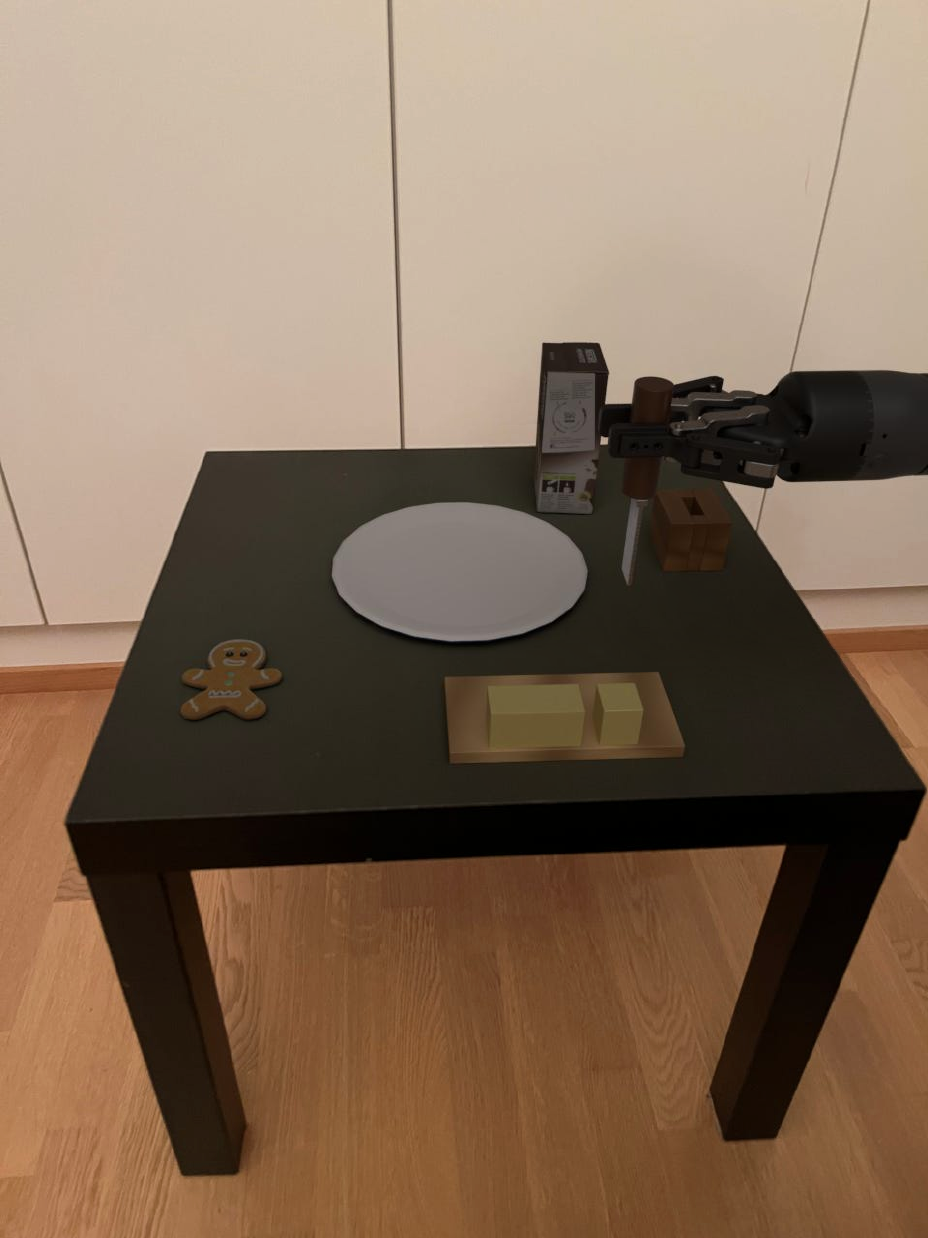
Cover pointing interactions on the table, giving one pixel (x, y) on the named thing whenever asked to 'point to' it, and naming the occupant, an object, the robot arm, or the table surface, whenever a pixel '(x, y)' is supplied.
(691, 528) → the knife block
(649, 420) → the knife
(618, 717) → the butter slice
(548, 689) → the butter
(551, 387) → the coffee box
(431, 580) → the plate
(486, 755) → the cutting board
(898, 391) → the robot arm
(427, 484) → the table surface
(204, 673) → the cookie
